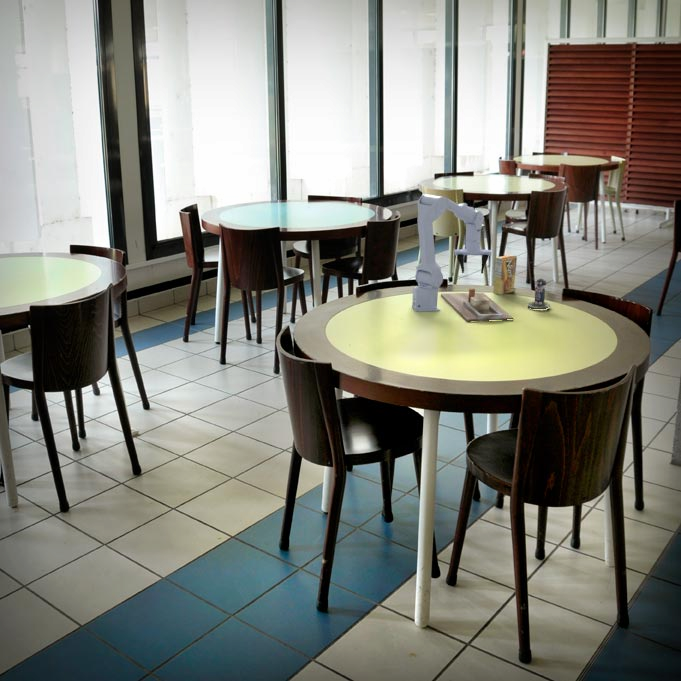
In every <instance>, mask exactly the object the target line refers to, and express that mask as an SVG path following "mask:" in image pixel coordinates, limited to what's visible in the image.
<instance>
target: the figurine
mask: <svg viewBox="0 0 681 681" xmlns="http://www.w3.org/2000/svg"><path fill="white" fill-rule="evenodd" d="M546 285H547V281H546V280H545V279H543V278H539V279H537V280H536V284H535V289H534V292H535V293H534V301H532V302H529V303H528V304H527V309H529V308H531V309H546V308H548V307H550V308H551V304H550V303H548V302H547V301H545V298H546ZM531 309H530V310H531Z"/></svg>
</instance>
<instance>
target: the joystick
mask: <svg viewBox="0 0 681 681" xmlns="http://www.w3.org/2000/svg"><path fill="white" fill-rule="evenodd" d="M468 293H469V298H468V301H469V302H470V305H471V306H472V307H473V308H474V309H475V310H476V311H481V310H489V304H490V300H489V299H488V298H487V297H475V293H476V288H470V287H469V288H468Z"/></svg>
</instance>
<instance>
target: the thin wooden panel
mask: <svg viewBox="0 0 681 681" xmlns="http://www.w3.org/2000/svg"><path fill="white" fill-rule="evenodd" d="M475 297H487V298H488V299H489V300H490V304H489V310H481V311H476V310H475V309H474V308H473V307H472V306H471V305H470V302H469V301H468V298H469V292H462V293H461V292H459V293H458V292H457V293H453V292H451V293H440V298H442V299H443V300H444V301H445V302H446V303H447V304H448V305H449V306H450V307H451V309H453V310H454V311H455V312H456V313H457V314H458V315H459V317H461V318H462V319H463V320H464V321H465V322H466V323H472V322H471V321H484V322H490V321H489V320H507V319H513V320H514V317H513V315H511V314H509V313H508V312H507V311H506V310H505V309H503V308H502V307H501V306H500V305H499V304H498V303H497V302H495V301H494V300H492V298H490V297H489V296H488V295H487V294H485V293H484V292H475Z"/></svg>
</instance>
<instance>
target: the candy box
mask: <svg viewBox="0 0 681 681" xmlns="http://www.w3.org/2000/svg"><path fill="white" fill-rule="evenodd" d="M517 259H518V257H517V256H516V255H512V254H506V255H503V256H501V255H500V256H496V257H495V266H494V276H493V277H494V281H493V291H492V293H493V294H497V295H500V296H501V295H504V294H509V293H512V292H514V291H515V282H516V281H515V280H516V272H517V271H516V270H517ZM509 288H514V289H509ZM513 290H514V291H513Z"/></svg>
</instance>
